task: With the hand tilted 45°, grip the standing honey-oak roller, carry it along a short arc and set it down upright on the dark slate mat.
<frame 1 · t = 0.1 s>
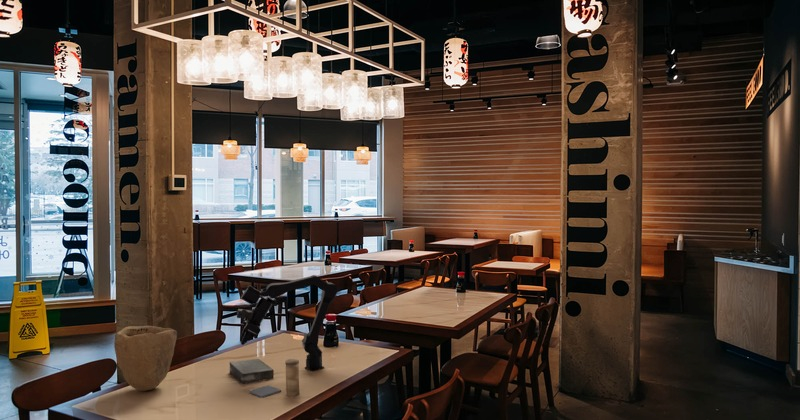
hand: (241, 341, 231), 15 cm above the table, tool tilted 35°, fingers open, 9 cm apart
stone block: (251, 376, 232), on the table
slate mat: (264, 392, 211), on the table
oak roller: (292, 394, 208), on the table
bowl: (147, 390, 215), on the table
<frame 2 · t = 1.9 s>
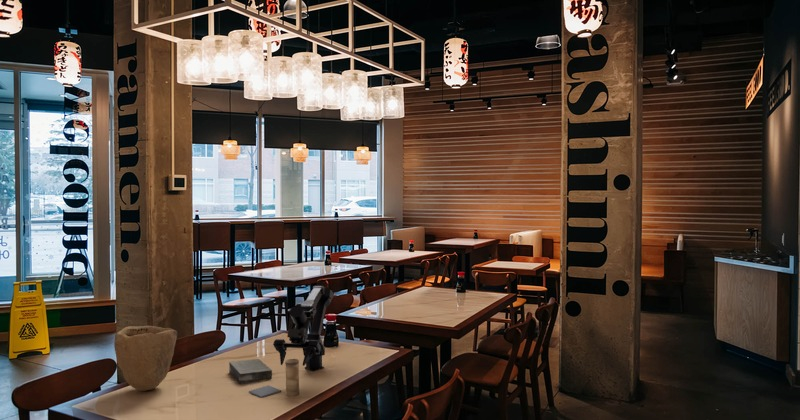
hand: (292, 364, 214), 10 cm above the table, tool tilted 45°, fingers open, 9 cm apart
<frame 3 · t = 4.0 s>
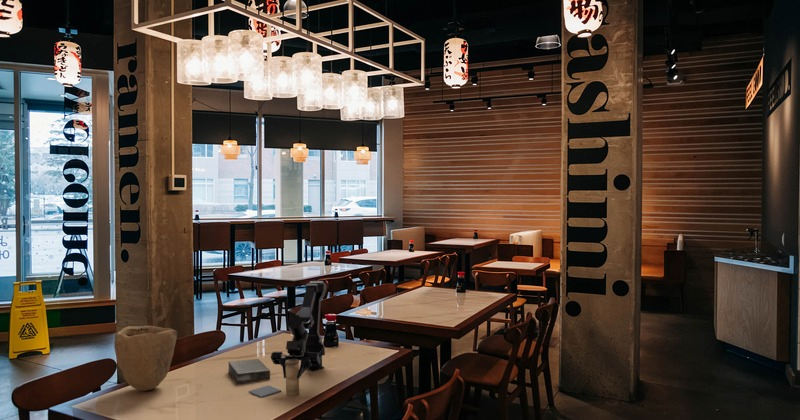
hand: (291, 378, 207), 7 cm above the table, tool tilted 45°, fingers closed on oak roller, 5 cm apart
oak roller: (292, 393, 208), on the table, touching gripper
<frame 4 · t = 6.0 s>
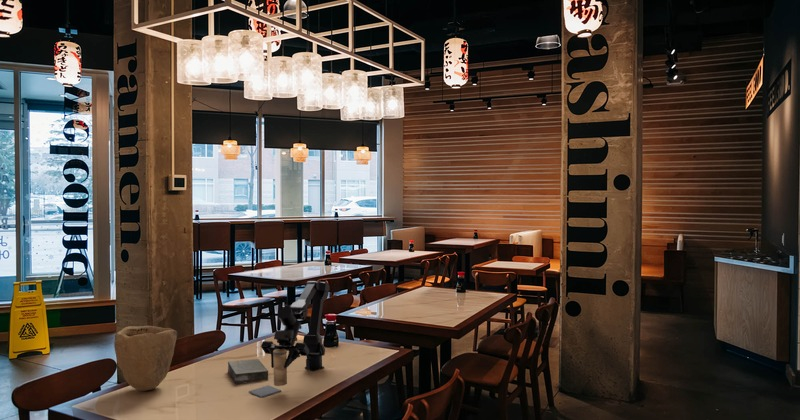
hand: (278, 367, 207), 10 cm above the table, tool tilted 45°, fingers closed on oak roller, 5 cm apart
oak roller: (280, 383, 209), point 4 cm above the table, touching gripper
when the fingers open (8 cm above the table, at t = 7.6 s): oak roller drops 1 cm, resting on slate mat.
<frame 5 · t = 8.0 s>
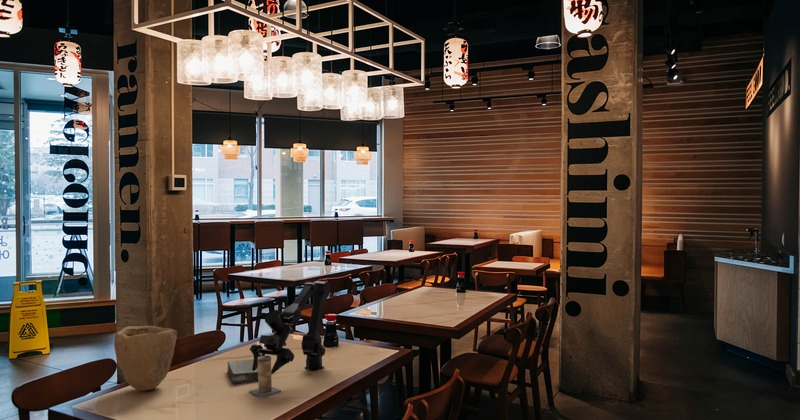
hand: (262, 372, 209), 8 cm above the table, tool tilted 45°, fingers open, 9 cm apart
oak roller: (265, 390, 211), point 1 cm above the table, touching slate mat
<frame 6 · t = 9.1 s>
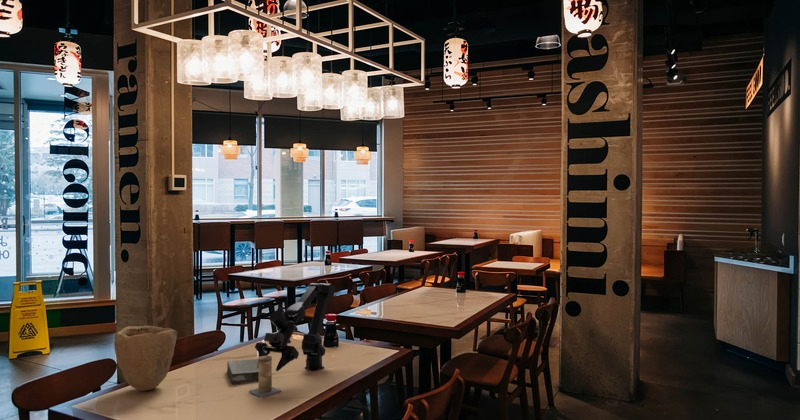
hand: (267, 369, 212), 9 cm above the table, tool tilted 45°, fingers open, 9 cm apart
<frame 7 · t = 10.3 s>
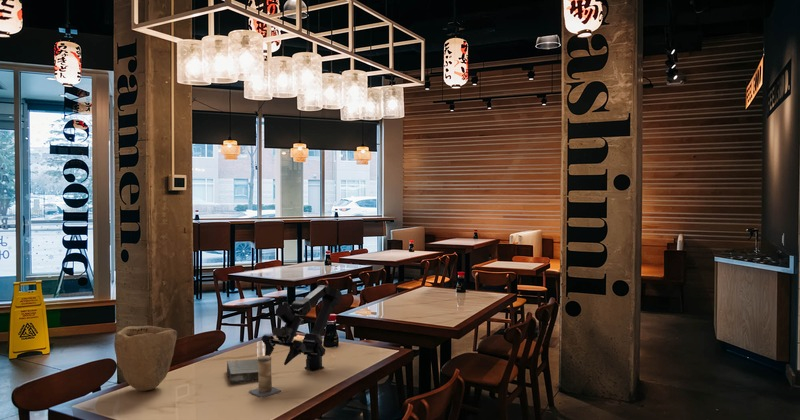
hand: (275, 362, 217), 10 cm above the table, tool tilted 40°, fingers open, 9 cm apart
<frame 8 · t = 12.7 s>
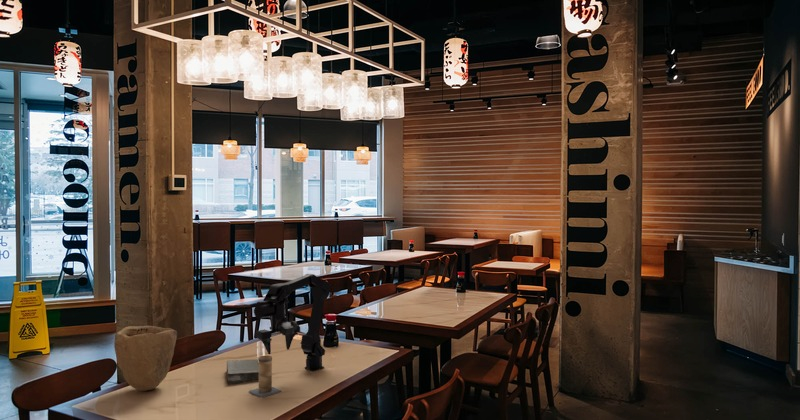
hand: (278, 351, 225), 12 cm above the table, tool pointing down, fingers open, 9 cm apart
at the end: oak roller 0.1 cm off-centre on the slate mat, point 0.6 cm above the slate mat's base; oak roller tilted 1°; the gripper is holding nothing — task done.
